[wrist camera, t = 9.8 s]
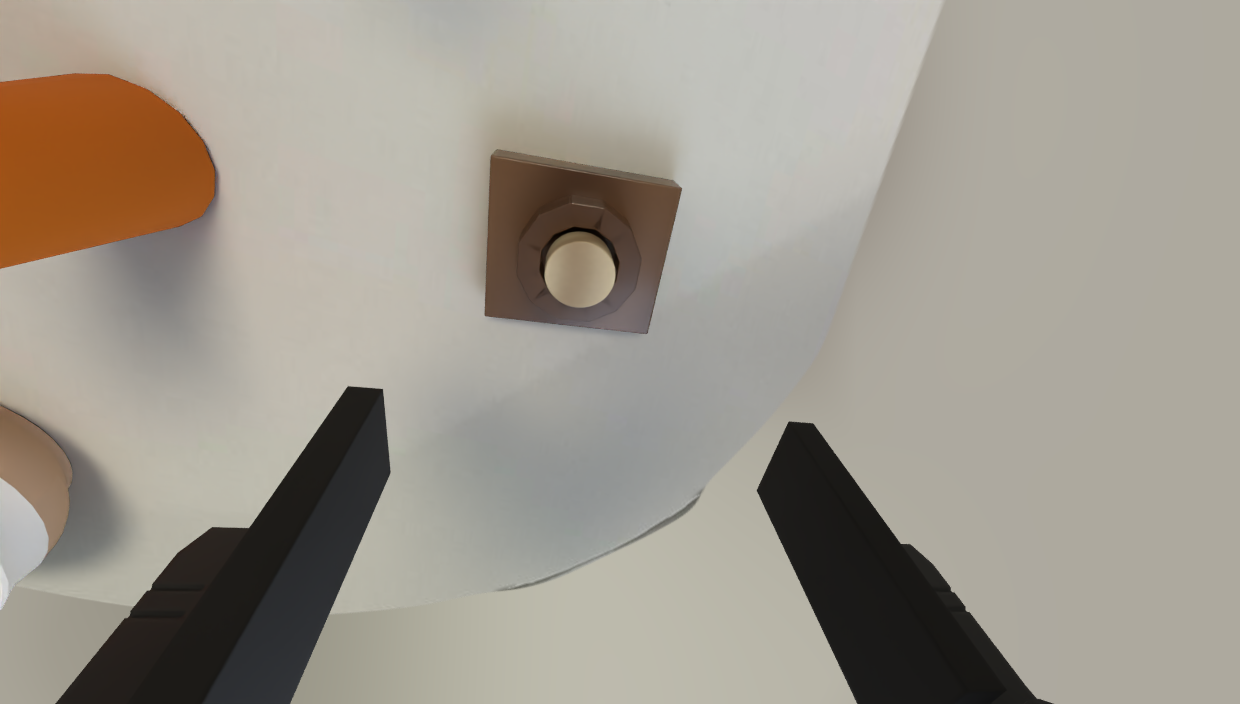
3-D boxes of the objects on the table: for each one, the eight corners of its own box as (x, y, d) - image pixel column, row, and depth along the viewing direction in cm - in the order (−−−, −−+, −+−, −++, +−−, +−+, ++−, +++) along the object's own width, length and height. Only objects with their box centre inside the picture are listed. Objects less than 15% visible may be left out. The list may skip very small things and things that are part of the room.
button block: (674, 180, 26) (690, 195, 23) (642, 318, 31) (652, 348, 27) (495, 149, 24) (485, 160, 21) (489, 301, 29) (479, 330, 25)
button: (618, 236, 24) (621, 246, 22) (606, 298, 26) (609, 312, 24) (549, 226, 23) (548, 236, 22) (542, 290, 25) (540, 304, 24)
